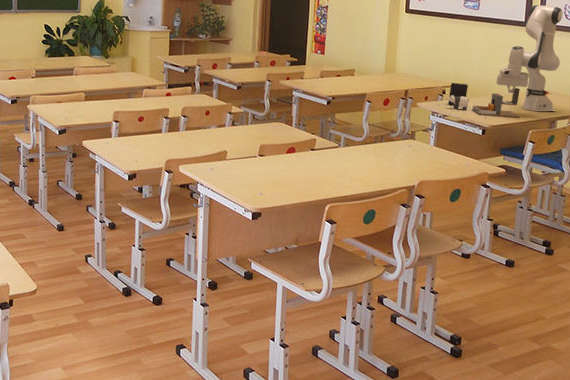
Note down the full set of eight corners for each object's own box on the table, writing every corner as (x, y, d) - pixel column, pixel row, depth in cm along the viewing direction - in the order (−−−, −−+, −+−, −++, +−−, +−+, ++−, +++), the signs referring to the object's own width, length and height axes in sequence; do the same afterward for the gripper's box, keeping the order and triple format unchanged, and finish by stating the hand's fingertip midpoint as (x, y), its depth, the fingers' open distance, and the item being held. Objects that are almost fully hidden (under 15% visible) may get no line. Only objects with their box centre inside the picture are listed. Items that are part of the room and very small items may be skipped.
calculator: (464, 105, 564) (467, 84, 560) (464, 106, 560) (468, 85, 556) (448, 104, 565) (451, 82, 561) (448, 105, 561) (451, 83, 557)
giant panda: (466, 109, 552) (468, 95, 549) (468, 110, 547) (470, 96, 544) (444, 107, 552) (447, 93, 549) (446, 109, 546) (448, 94, 543)
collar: (490, 111, 546) (491, 103, 544) (493, 112, 540) (494, 105, 539) (487, 110, 546) (488, 103, 544) (490, 112, 540) (491, 104, 538)
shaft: (515, 104, 544) (518, 88, 541) (516, 105, 541) (519, 89, 538) (496, 103, 543) (499, 86, 540) (497, 104, 540) (500, 87, 537)
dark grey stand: (511, 113, 552) (514, 94, 549) (519, 117, 537) (522, 98, 533) (472, 110, 550) (474, 91, 546) (479, 115, 535) (482, 95, 531)
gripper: (527, 72, 540) (524, 92, 544) (497, 69, 538) (494, 90, 542) (531, 73, 534) (527, 94, 538) (500, 71, 532) (497, 92, 536)
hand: (510, 92), depth 540 cm, fingers closed
